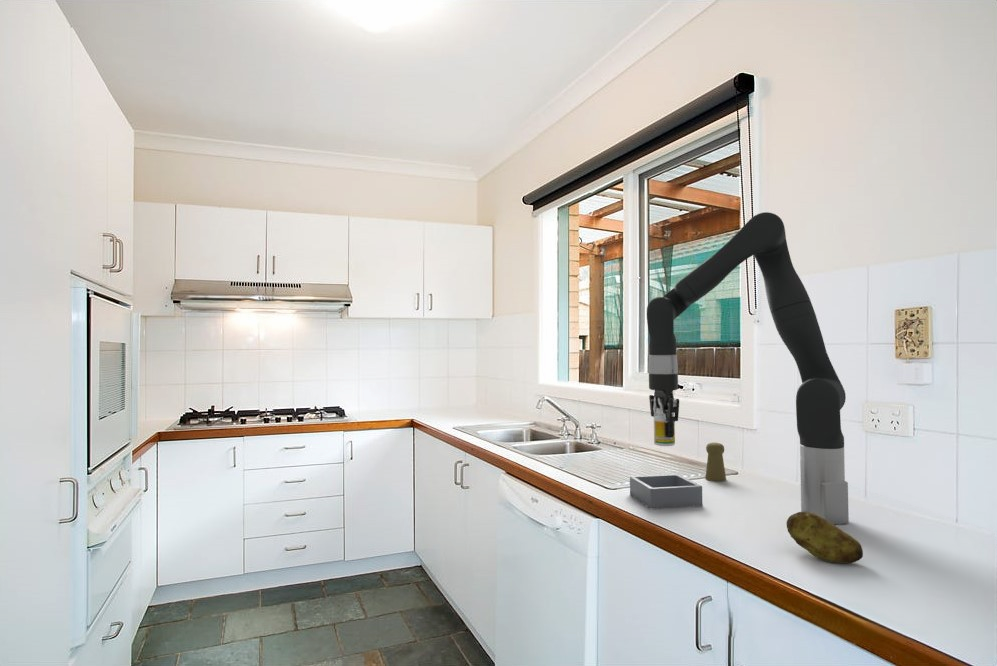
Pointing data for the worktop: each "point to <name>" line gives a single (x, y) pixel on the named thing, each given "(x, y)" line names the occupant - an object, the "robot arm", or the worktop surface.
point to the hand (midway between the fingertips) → (664, 435)
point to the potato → (823, 538)
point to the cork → (715, 463)
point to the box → (666, 491)
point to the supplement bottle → (661, 431)
